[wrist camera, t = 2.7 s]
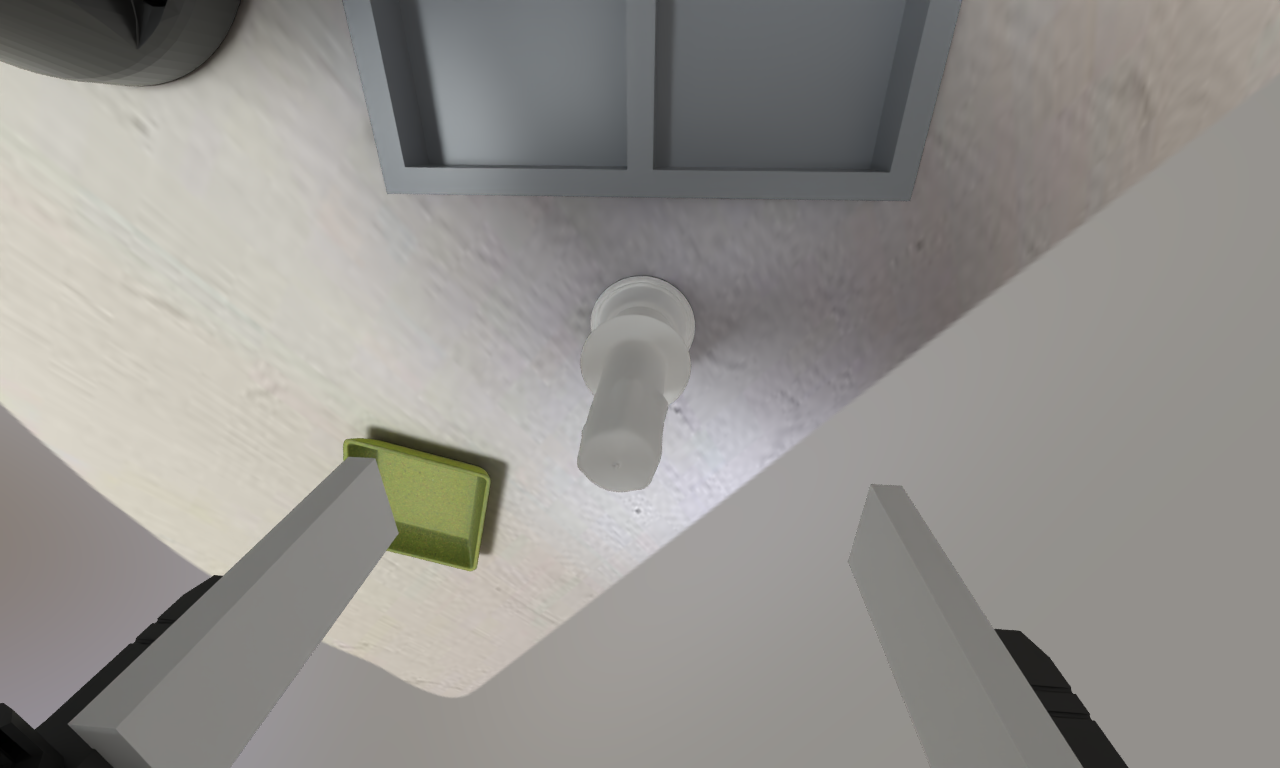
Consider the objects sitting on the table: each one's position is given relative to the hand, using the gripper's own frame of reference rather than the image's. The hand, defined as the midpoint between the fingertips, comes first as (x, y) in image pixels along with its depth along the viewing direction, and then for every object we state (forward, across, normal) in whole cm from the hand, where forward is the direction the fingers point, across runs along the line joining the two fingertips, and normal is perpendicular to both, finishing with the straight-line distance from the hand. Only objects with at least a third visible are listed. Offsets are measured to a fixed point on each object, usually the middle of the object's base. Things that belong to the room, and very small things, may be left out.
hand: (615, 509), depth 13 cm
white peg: (+13, 0, 0) cm, 13 cm away
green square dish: (+14, -14, -12) cm, 23 cm away
